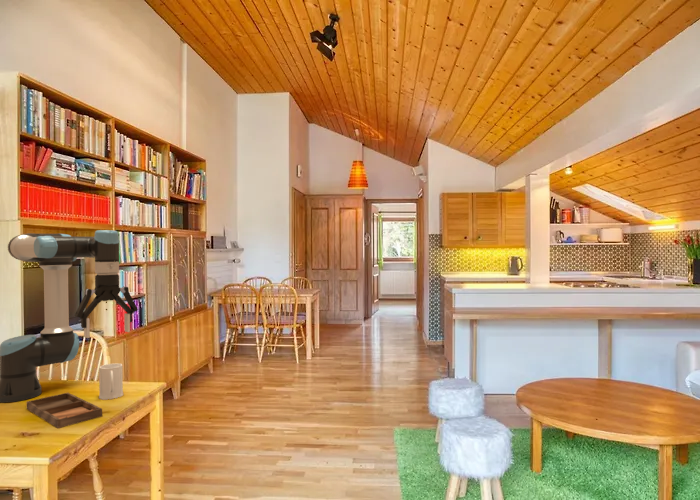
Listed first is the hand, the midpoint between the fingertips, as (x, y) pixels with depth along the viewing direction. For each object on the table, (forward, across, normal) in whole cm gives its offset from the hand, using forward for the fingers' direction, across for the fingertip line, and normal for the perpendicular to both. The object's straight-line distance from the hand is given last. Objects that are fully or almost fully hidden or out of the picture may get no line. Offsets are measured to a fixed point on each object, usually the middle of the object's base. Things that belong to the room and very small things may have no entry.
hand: (107, 334), depth 161 cm
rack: (+28, -10, +13) cm, 32 cm away
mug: (+28, +8, +17) cm, 34 cm away
